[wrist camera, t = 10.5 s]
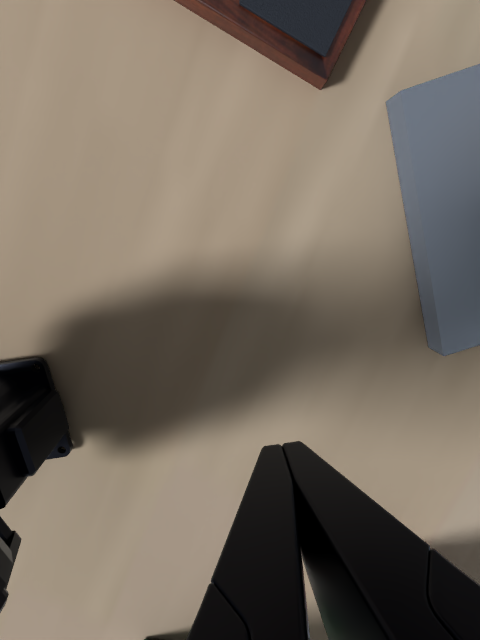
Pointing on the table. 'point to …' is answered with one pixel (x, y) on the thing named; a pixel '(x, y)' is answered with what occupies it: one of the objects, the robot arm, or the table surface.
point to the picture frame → (287, 30)
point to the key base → (442, 201)
